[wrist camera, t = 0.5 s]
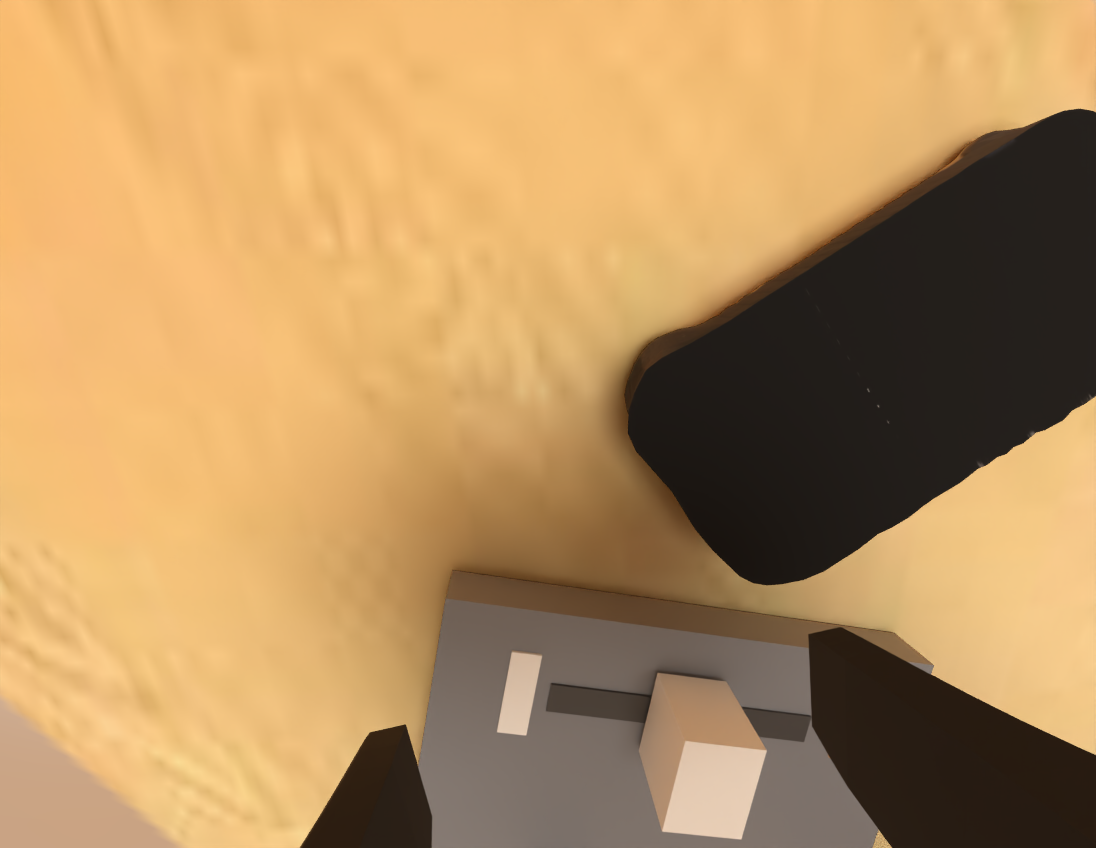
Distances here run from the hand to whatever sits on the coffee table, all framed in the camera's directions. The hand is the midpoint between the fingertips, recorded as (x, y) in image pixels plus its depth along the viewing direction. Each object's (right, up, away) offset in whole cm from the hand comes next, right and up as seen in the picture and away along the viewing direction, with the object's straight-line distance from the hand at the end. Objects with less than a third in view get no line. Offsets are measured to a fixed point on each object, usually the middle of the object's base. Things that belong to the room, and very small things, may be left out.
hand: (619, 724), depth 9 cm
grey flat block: (+2, -8, +12) cm, 15 cm away
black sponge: (+9, +8, +10) cm, 16 cm away
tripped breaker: (+3, -5, +9) cm, 11 cm away
